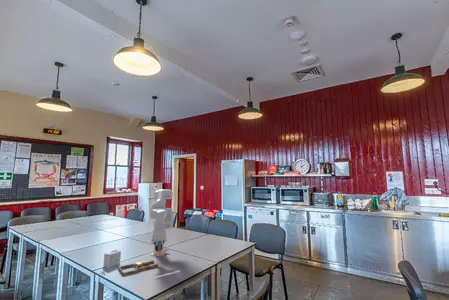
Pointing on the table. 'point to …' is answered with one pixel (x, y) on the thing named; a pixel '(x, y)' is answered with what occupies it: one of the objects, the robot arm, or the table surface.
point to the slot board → (139, 269)
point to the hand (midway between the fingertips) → (158, 250)
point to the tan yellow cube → (138, 265)
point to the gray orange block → (159, 248)
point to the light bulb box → (112, 258)
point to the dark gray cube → (145, 263)
